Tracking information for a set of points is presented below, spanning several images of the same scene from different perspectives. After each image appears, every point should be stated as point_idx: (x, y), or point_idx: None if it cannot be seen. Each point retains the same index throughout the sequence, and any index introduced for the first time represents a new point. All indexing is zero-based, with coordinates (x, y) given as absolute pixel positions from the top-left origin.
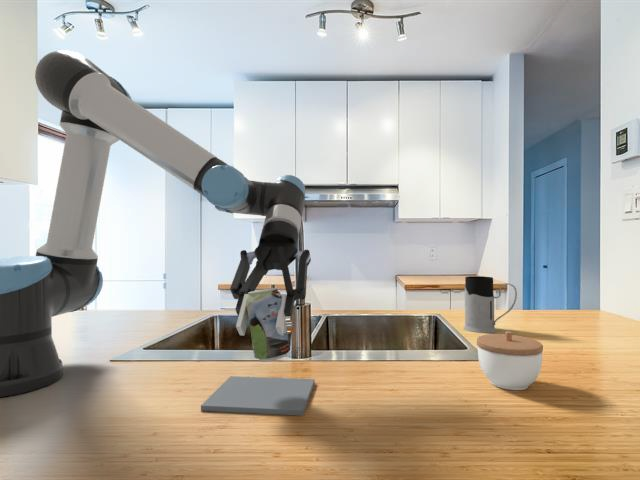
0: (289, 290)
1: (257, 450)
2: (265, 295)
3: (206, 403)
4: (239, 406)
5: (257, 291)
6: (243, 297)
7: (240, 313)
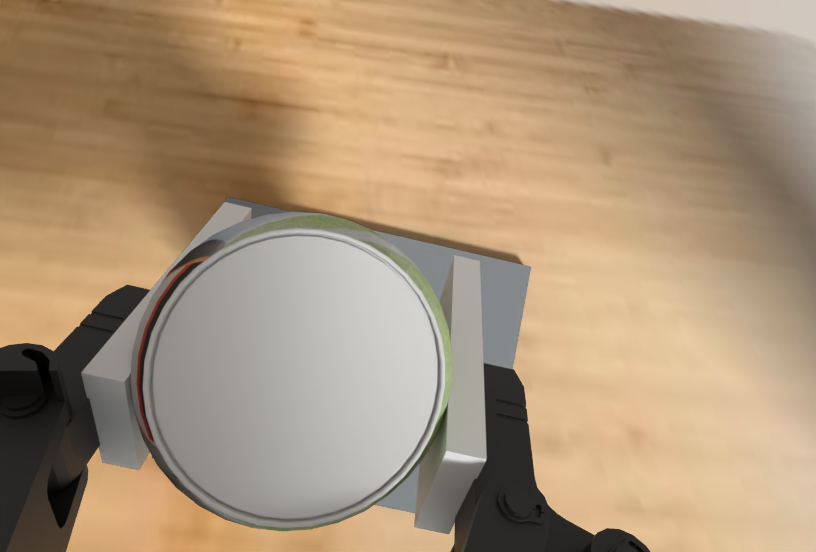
0: (20, 351)
1: (350, 49)
2: (277, 221)
3: (517, 280)
4: (415, 246)
5: (355, 350)
6: (490, 469)
7: (474, 316)
